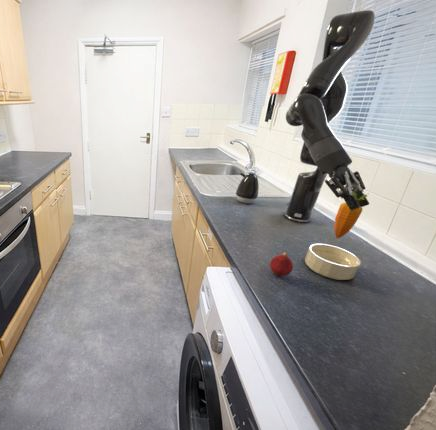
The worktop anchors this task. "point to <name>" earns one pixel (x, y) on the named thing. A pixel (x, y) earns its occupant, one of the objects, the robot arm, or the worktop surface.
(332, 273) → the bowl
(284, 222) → the worktop surface
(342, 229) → the carrot
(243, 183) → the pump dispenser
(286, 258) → the onion
